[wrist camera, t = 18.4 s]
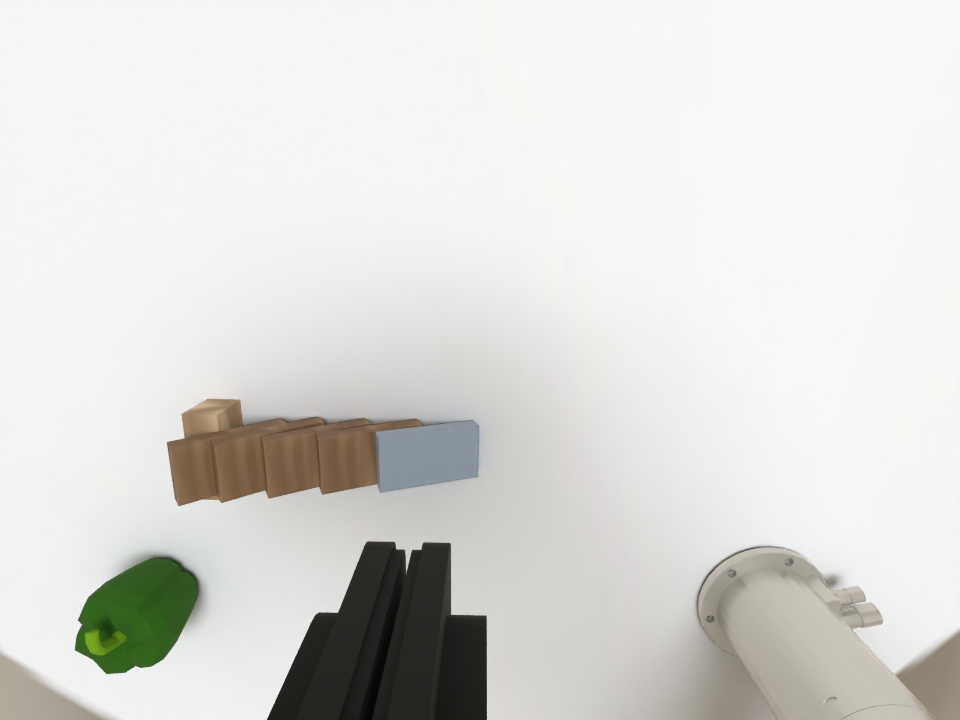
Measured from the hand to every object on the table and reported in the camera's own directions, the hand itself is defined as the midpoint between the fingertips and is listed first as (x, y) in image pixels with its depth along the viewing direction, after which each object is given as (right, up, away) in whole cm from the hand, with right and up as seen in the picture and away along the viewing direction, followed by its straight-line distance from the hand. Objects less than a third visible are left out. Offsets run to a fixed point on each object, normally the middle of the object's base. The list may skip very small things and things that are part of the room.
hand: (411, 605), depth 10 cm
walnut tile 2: (-9, -3, +36) cm, 37 cm away
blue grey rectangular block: (+1, -3, +36) cm, 36 cm away
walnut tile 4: (-17, -3, +35) cm, 39 cm away
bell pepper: (-30, -18, +41) cm, 54 cm away
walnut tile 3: (-13, -3, +36) cm, 38 cm away
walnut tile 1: (-4, -3, +36) cm, 36 cm away
